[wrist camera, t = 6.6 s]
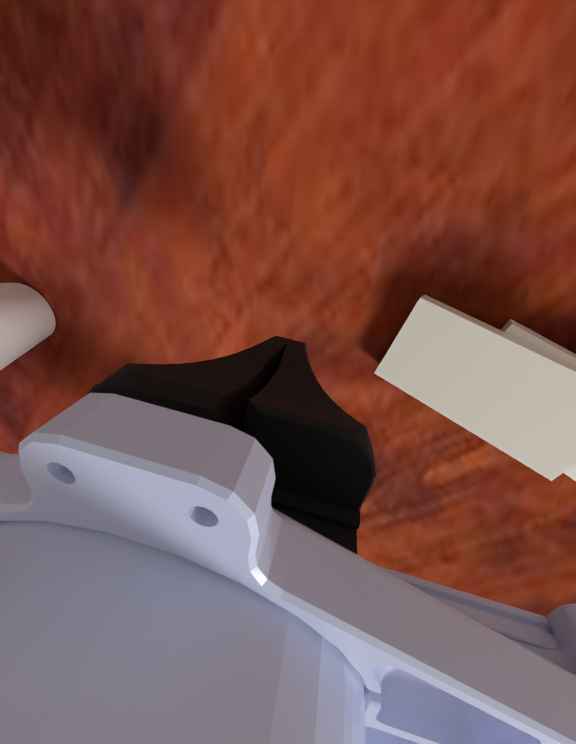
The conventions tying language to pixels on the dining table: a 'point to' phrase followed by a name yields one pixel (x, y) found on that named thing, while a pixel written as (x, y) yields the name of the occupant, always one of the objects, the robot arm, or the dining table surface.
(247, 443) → the robot arm
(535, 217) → the dining table surface
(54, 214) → the dining table surface
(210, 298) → the dining table surface
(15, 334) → the soft serve ice cream cone
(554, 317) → the dining table surface
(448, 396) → the domino
